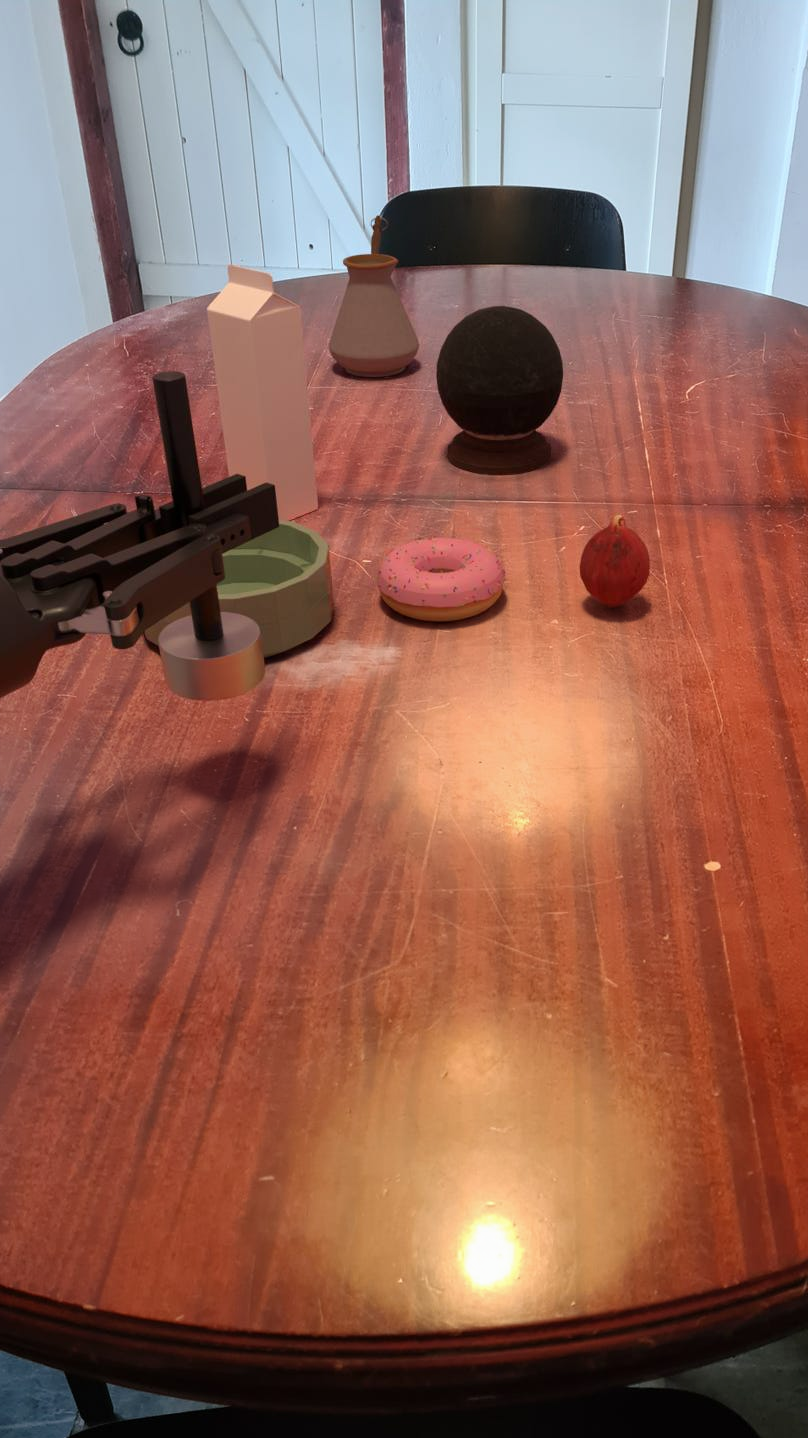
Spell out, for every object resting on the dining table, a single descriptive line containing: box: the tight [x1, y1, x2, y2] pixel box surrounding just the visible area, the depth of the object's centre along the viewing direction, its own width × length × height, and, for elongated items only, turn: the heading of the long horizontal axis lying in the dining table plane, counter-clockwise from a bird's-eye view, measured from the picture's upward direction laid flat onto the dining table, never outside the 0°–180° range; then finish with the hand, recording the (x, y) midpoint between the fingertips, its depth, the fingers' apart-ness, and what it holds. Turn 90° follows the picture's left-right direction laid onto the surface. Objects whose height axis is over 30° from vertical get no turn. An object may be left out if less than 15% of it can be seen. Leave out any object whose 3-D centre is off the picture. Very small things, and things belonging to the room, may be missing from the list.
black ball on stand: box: [435, 305, 564, 476], centre depth 128 cm, size 13×13×15 cm
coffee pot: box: [328, 215, 420, 378], centre depth 157 cm, size 21×12×15 cm, turn 179°
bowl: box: [143, 520, 335, 659], centre depth 101 cm, size 16×16×6 cm
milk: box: [206, 264, 319, 521], centre depth 115 cm, size 6×6×22 cm
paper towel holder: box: [151, 370, 266, 702], centre depth 74 cm, size 6×6×19 cm
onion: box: [579, 514, 651, 609], centre depth 102 cm, size 6×6×8 cm
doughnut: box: [374, 535, 507, 622], centre depth 104 cm, size 11×11×4 cm
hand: (257, 500), depth 78 cm, fingers closed on paper towel holder, 2 cm apart
